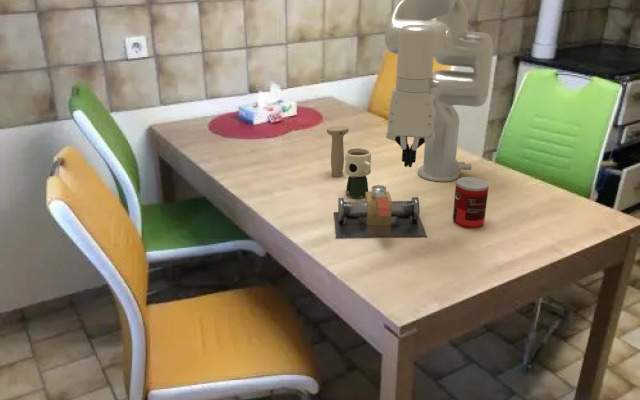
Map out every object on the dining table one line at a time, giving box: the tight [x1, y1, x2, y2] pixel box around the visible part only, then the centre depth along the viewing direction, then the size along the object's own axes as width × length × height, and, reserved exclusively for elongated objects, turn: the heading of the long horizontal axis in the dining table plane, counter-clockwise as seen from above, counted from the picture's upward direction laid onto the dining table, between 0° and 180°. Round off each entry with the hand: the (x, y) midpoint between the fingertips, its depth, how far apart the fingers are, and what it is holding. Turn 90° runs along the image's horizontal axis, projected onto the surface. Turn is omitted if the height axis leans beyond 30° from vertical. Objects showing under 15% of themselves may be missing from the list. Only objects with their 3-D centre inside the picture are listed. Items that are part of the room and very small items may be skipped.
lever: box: [370, 184, 391, 216], centre depth 142 cm, size 14×4×2 cm, turn 1°
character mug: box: [344, 147, 372, 198], centre depth 164 cm, size 11×7×13 cm, turn 33°
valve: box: [333, 191, 428, 239], centre depth 148 cm, size 22×14×7 cm, turn 91°
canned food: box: [452, 176, 489, 229], centre depth 148 cm, size 8×8×11 cm
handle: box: [326, 125, 349, 178], centre depth 177 cm, size 5×6×15 cm
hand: (408, 164), depth 134 cm, fingers closed
